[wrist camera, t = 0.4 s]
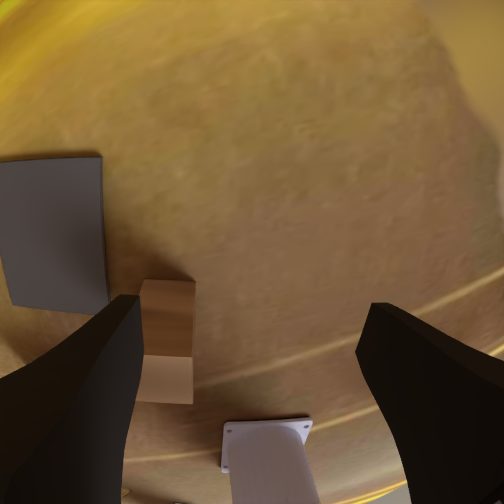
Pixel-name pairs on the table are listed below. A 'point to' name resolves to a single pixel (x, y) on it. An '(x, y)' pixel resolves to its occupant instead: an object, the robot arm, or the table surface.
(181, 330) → the oak push block
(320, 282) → the table surface
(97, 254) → the mat
